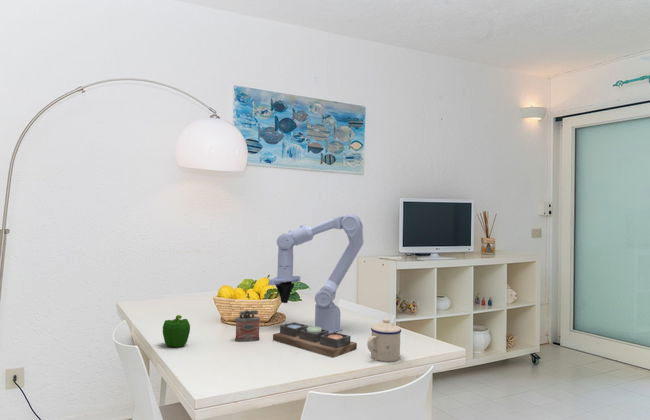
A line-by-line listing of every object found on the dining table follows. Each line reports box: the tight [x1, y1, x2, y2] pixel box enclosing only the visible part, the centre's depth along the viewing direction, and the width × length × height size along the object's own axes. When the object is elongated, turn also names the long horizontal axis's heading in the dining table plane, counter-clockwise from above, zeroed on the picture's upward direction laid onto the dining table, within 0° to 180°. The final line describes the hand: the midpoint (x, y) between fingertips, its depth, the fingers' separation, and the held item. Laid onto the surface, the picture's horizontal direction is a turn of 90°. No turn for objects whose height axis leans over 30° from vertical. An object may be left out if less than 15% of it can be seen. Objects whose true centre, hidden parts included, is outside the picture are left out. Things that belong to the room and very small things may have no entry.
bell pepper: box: [162, 314, 191, 348], centre depth 151 cm, size 8×8×10 cm
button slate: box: [287, 325, 301, 329], centre depth 162 cm, size 5×5×2 cm
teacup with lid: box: [366, 318, 402, 363], centre depth 144 cm, size 12×9×12 cm
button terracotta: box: [328, 335, 343, 339], centre depth 150 cm, size 5×5×2 cm
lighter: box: [234, 309, 261, 343], centre depth 159 cm, size 8×3×10 cm, turn 105°
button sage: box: [307, 325, 321, 334], centre depth 156 cm, size 5×5×2 cm
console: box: [272, 321, 358, 358], centre depth 156 cm, size 12×26×5 cm, turn 50°
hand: (284, 302), depth 177 cm, fingers closed
